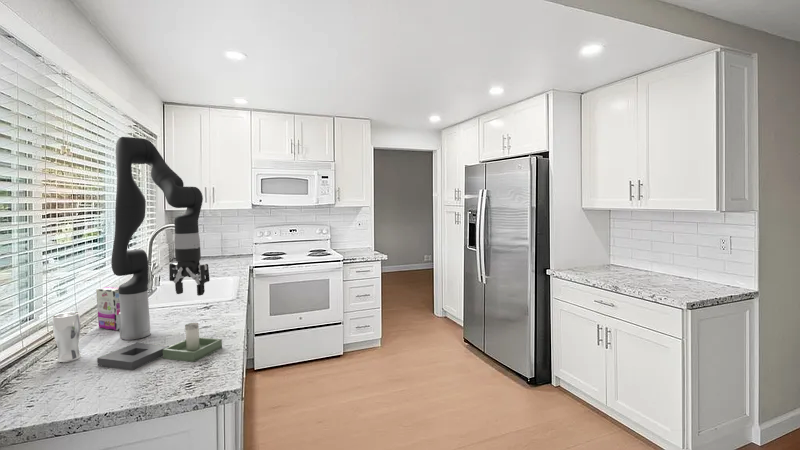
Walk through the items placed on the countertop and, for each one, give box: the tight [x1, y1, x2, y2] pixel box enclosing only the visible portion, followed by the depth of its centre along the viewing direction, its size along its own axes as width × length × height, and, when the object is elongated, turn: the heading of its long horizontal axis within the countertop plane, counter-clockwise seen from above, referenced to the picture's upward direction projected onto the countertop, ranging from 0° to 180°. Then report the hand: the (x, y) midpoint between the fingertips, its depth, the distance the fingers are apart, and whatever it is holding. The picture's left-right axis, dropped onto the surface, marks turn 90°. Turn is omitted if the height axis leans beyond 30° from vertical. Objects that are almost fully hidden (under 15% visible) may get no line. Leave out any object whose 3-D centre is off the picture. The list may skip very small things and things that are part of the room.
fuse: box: [184, 322, 200, 352], centre depth 137 cm, size 4×4×9 cm
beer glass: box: [52, 311, 82, 363], centre depth 134 cm, size 7×7×15 cm
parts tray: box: [162, 336, 223, 363], centre depth 137 cm, size 13×13×3 cm
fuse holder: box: [96, 342, 170, 371], centre depth 133 cm, size 14×14×2 cm
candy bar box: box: [95, 286, 120, 331], centre depth 166 cm, size 11×5×16 cm, turn 68°
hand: (190, 294), depth 136 cm, fingers open, 8 cm apart
